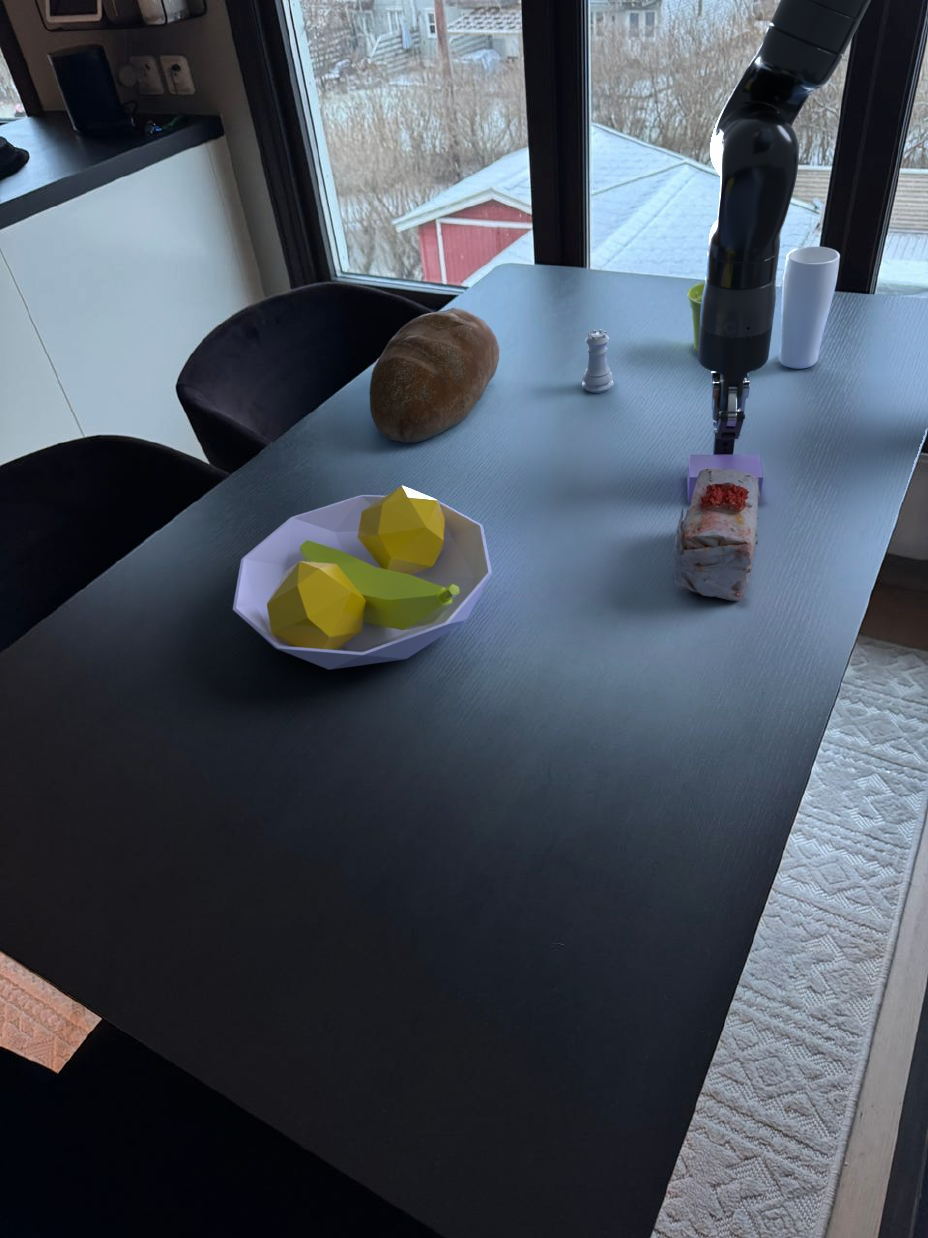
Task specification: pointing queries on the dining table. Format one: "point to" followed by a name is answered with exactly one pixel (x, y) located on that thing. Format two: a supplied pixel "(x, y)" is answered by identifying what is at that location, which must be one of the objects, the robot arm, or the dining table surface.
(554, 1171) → the dining table surface
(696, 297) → the plant pot
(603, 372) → the rook chess piece
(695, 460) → the lavender block
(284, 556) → the fruit bowl
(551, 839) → the dining table surface
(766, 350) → the robot arm
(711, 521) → the food item
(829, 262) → the drinking glass
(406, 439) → the bread
